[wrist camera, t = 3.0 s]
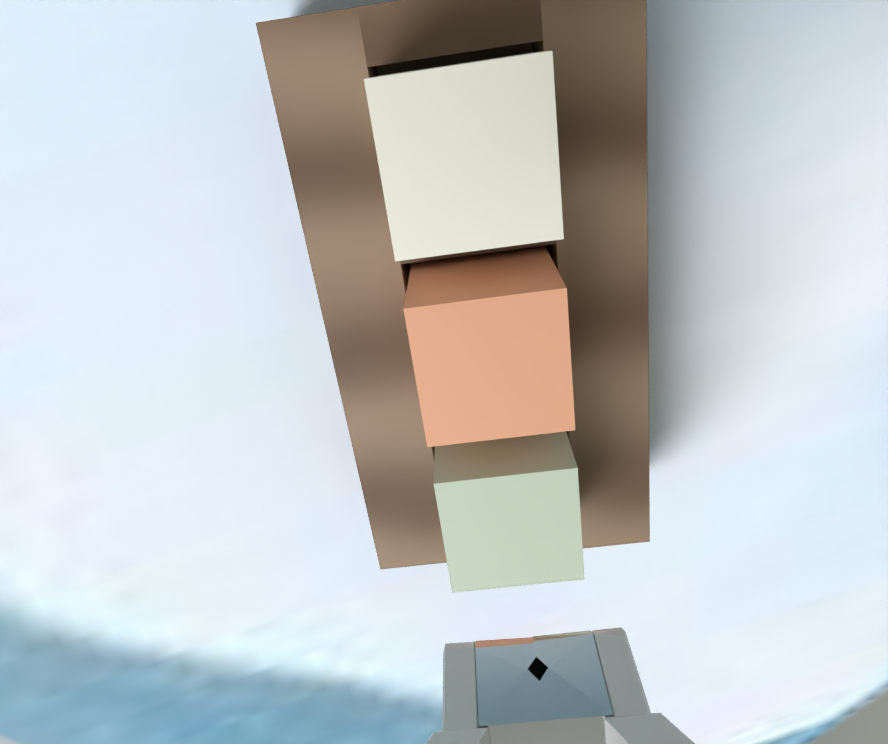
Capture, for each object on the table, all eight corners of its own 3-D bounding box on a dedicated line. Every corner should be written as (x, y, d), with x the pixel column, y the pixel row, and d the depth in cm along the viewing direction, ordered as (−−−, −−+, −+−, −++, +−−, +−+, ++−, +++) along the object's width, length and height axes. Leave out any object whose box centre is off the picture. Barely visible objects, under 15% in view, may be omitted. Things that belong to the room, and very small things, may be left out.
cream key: (381, 75, 22) (363, 79, 18) (530, 52, 22) (552, 50, 17) (404, 223, 24) (395, 261, 20) (541, 205, 24) (563, 239, 19)
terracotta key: (411, 263, 25) (403, 308, 20) (544, 245, 24) (566, 287, 20) (430, 382, 27) (427, 447, 22) (553, 367, 27) (575, 430, 22)
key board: (287, 29, 25) (255, 23, 21) (612, -22, 24) (646, -39, 20) (388, 508, 34) (380, 569, 30) (624, 482, 33) (649, 541, 29)
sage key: (436, 414, 28) (433, 483, 23) (556, 400, 27) (577, 467, 23) (451, 511, 30) (452, 592, 25) (563, 499, 29) (584, 579, 25)
